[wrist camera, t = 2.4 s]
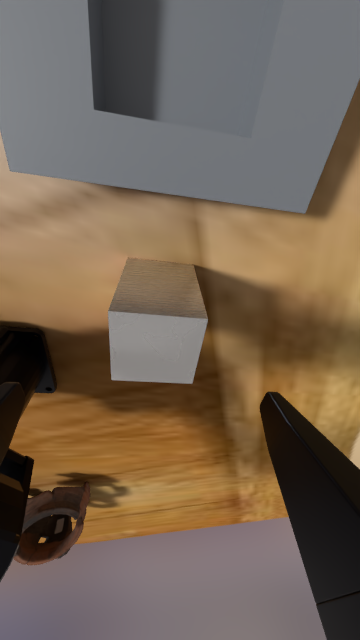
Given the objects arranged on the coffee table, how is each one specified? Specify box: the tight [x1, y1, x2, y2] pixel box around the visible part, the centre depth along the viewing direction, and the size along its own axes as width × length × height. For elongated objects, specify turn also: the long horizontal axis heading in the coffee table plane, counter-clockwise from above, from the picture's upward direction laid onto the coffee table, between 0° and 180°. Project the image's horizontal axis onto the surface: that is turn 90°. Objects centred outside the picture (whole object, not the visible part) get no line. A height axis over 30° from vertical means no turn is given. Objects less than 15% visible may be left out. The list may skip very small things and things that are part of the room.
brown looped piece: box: [14, 482, 90, 565], centre depth 30 cm, size 12×10×8 cm
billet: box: [108, 257, 208, 384], centre depth 13 cm, size 4×4×6 cm
